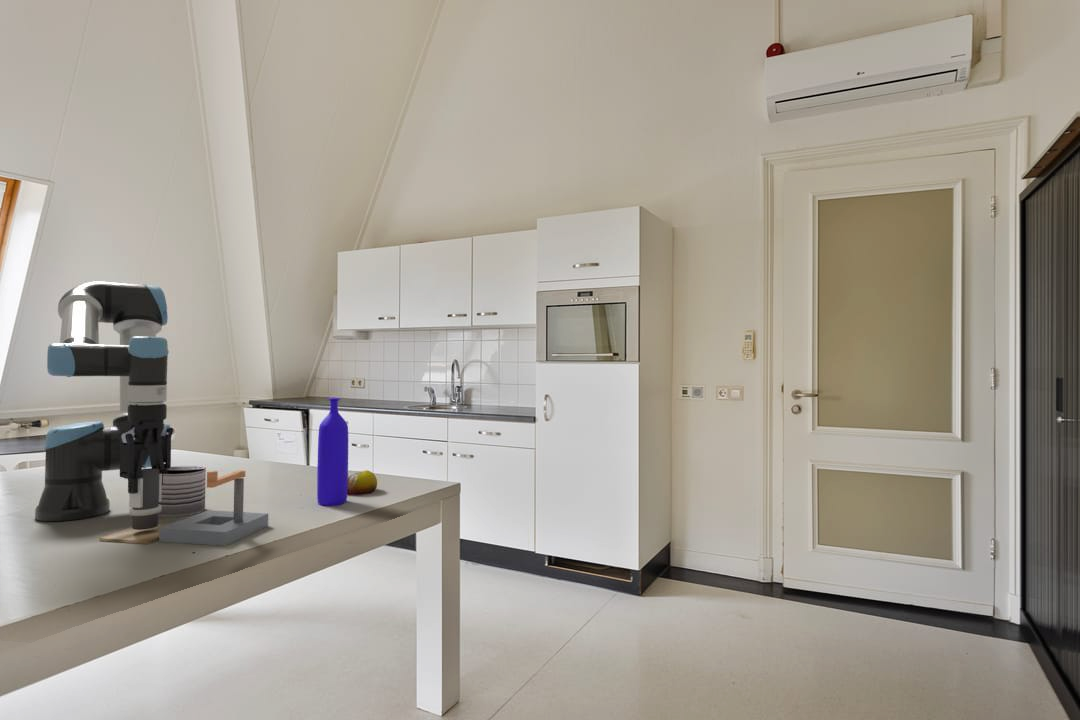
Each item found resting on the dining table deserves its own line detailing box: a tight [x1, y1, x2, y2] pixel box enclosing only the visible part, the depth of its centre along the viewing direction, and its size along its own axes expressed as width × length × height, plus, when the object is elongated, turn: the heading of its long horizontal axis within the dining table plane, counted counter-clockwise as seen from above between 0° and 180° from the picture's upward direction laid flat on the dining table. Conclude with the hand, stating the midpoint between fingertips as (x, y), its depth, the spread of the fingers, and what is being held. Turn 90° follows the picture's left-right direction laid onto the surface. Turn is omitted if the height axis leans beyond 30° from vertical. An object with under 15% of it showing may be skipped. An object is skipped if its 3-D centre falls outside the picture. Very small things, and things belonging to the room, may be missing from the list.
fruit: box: [347, 470, 378, 496], centre depth 185 cm, size 11×10×8 cm
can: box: [158, 465, 207, 518], centre depth 158 cm, size 11×11×12 cm
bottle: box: [316, 397, 349, 507], centre depth 170 cm, size 8×8×30 cm
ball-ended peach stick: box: [206, 470, 246, 488], centre depth 133 cm, size 13×3×3 cm, turn 179°
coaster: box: [98, 523, 167, 545], centre depth 137 cm, size 12×12×1 cm
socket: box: [158, 477, 269, 547], centre depth 139 cm, size 16×16×13 cm
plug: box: [128, 467, 162, 530], centre depth 137 cm, size 6×6×13 cm
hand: (145, 503), depth 137 cm, fingers closed on plug, 5 cm apart
